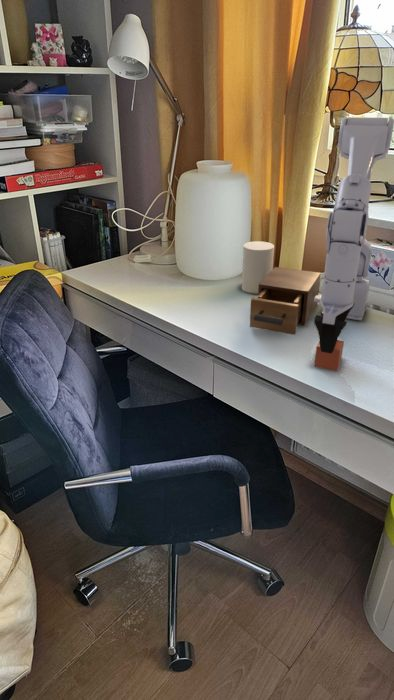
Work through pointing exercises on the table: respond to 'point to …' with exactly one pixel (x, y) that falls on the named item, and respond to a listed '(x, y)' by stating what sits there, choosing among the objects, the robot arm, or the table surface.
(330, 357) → the block
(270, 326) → the drawer
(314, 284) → the cabinet
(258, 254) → the cream upright cylinder
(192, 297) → the table surface
